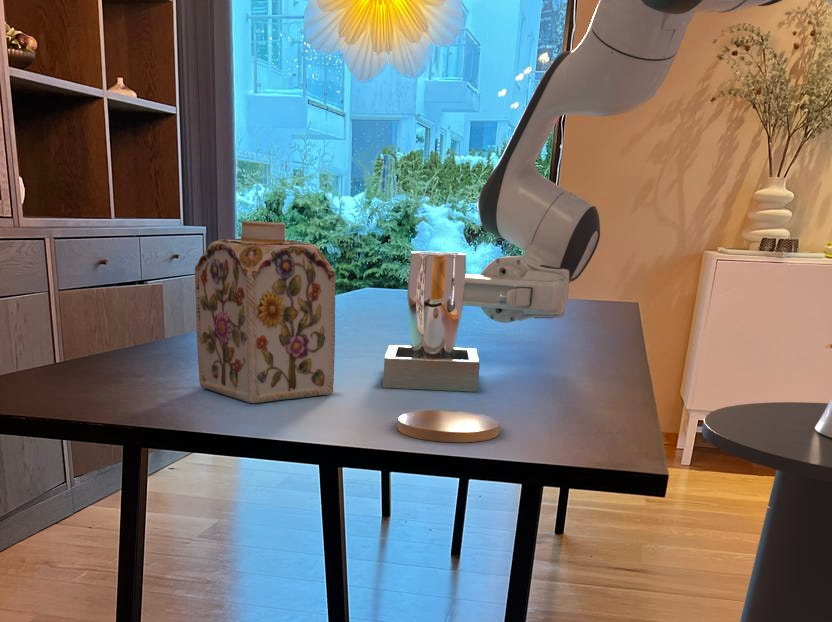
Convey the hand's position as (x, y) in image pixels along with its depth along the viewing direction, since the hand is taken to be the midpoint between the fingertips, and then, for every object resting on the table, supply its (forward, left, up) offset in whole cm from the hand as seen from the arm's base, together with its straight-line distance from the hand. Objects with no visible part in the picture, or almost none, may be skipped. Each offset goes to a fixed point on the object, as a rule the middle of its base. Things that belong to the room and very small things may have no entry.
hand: (471, 295), depth 118 cm
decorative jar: (+24, +21, -10) cm, 33 cm away
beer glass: (+5, +10, -10) cm, 15 cm away
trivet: (+3, +37, -10) cm, 39 cm away
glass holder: (+5, +10, -10) cm, 15 cm away
